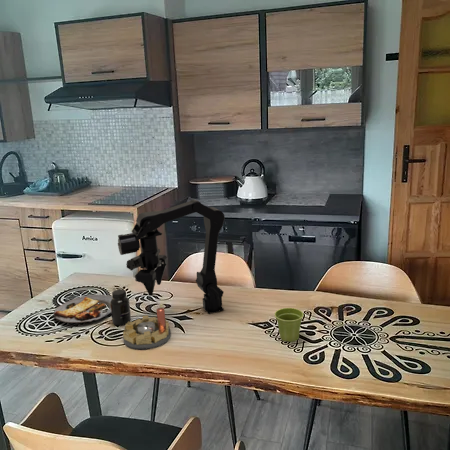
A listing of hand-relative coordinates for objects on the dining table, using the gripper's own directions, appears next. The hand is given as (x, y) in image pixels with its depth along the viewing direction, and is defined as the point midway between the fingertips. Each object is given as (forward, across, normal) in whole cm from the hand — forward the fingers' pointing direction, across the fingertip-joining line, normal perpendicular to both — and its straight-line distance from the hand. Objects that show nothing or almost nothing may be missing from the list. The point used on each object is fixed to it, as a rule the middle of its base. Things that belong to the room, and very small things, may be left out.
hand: (155, 289), depth 163 cm
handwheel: (+11, +11, -1) cm, 16 cm away
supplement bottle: (+13, +1, -14) cm, 19 cm away
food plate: (+13, -6, -31) cm, 34 cm away
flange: (+13, +11, -1) cm, 17 cm away
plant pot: (+14, +8, +48) cm, 50 cm away
